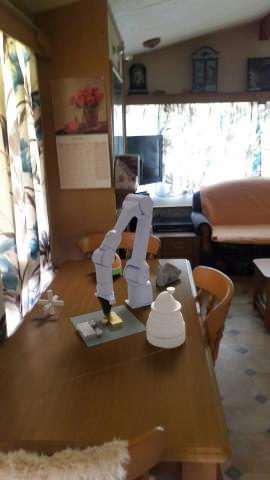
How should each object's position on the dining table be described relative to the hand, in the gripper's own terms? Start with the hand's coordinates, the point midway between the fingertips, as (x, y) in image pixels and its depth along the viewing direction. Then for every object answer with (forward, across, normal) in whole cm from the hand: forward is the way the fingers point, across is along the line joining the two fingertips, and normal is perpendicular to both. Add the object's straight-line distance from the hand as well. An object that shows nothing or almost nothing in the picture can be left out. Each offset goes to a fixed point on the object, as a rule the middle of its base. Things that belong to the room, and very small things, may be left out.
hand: (106, 314), depth 135 cm
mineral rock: (+2, -17, +37) cm, 41 cm away
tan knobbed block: (+1, +5, -1) cm, 6 cm away
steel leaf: (+1, +8, -9) cm, 12 cm away
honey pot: (+2, +23, +12) cm, 26 cm away
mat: (+1, +5, -2) cm, 6 cm away
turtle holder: (+2, -42, +16) cm, 45 cm away
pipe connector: (+1, -13, -18) cm, 22 cm away
